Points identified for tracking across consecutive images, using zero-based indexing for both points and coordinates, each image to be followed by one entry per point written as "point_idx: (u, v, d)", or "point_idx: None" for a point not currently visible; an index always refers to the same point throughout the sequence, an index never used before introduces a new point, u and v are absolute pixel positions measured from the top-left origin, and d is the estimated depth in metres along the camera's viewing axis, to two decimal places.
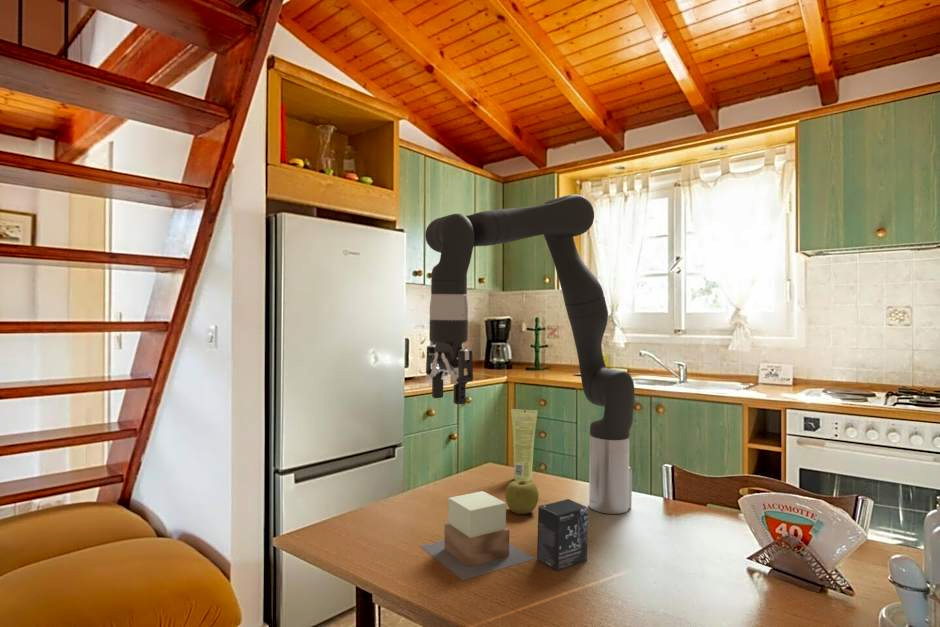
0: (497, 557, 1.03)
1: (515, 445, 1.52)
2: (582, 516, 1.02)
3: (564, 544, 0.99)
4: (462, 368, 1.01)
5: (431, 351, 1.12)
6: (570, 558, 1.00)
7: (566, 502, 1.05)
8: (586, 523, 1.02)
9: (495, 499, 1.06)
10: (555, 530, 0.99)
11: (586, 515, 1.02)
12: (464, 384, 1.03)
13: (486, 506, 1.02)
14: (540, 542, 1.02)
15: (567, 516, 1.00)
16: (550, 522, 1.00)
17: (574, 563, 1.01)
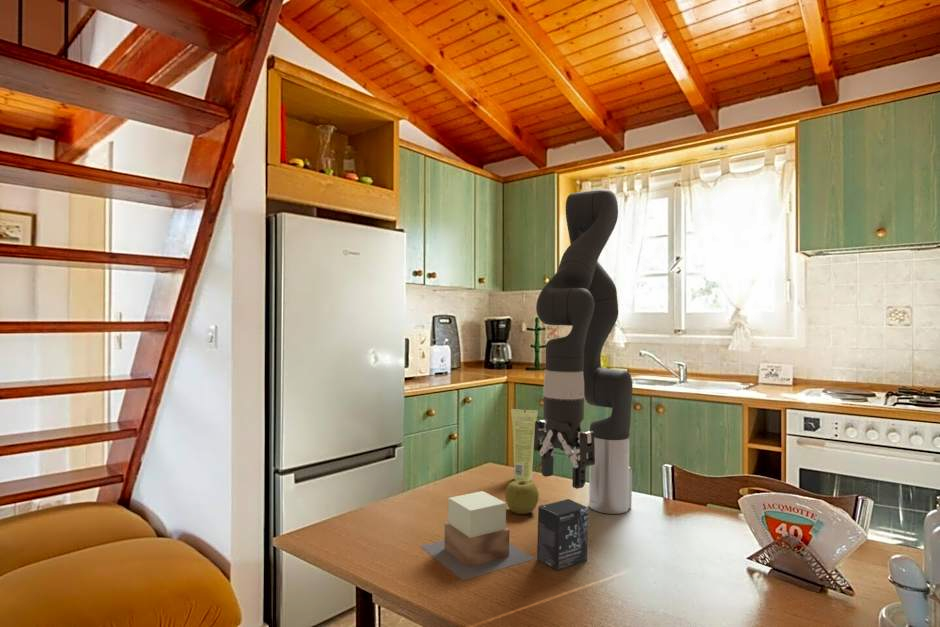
0: (497, 557, 1.03)
1: (515, 445, 1.52)
2: (582, 517, 1.02)
3: (564, 544, 0.99)
4: (585, 452, 0.96)
5: (540, 426, 1.07)
6: (570, 558, 1.00)
7: (566, 502, 1.05)
8: (586, 523, 1.02)
9: (495, 499, 1.06)
10: (555, 530, 0.99)
11: (586, 515, 1.02)
12: (584, 467, 0.98)
13: (486, 506, 1.02)
14: (540, 542, 1.02)
15: (567, 516, 1.00)
16: (550, 522, 1.00)
17: (574, 563, 1.01)
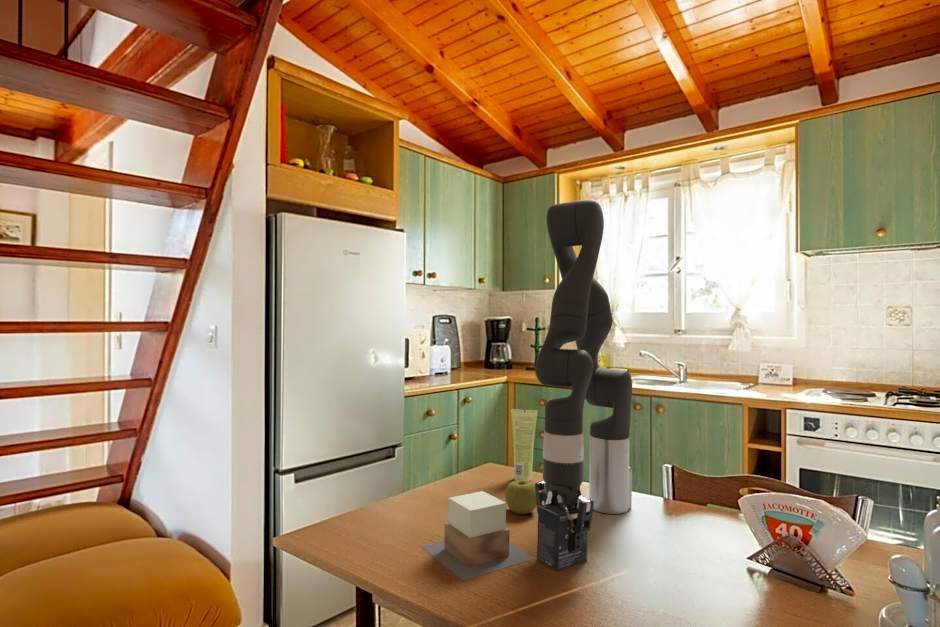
0: (497, 557, 1.03)
1: (515, 445, 1.52)
2: None
3: (564, 544, 0.99)
4: (582, 521, 0.97)
5: (540, 488, 1.07)
6: (570, 558, 1.00)
7: None
8: None
9: (495, 499, 1.06)
10: (555, 530, 0.99)
11: None
12: (580, 533, 0.99)
13: (486, 506, 1.02)
14: (540, 542, 1.02)
15: None
16: (549, 521, 1.00)
17: (574, 563, 1.01)
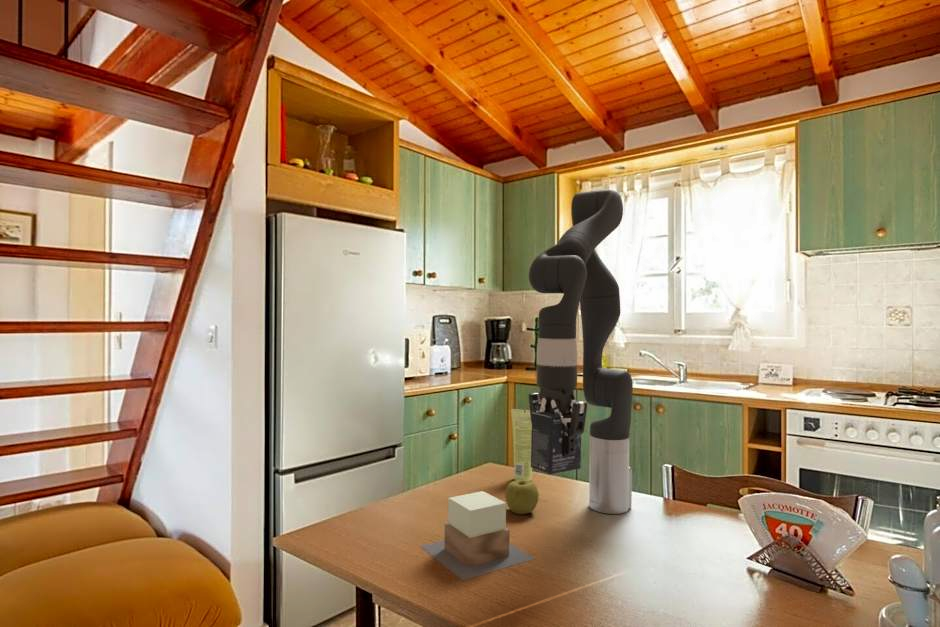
0: (497, 557, 1.03)
1: (515, 445, 1.52)
2: None
3: (558, 448, 0.99)
4: (575, 422, 0.97)
5: (534, 398, 1.07)
6: (564, 462, 1.00)
7: None
8: None
9: (495, 499, 1.06)
10: (549, 433, 0.99)
11: None
12: (573, 436, 0.99)
13: (486, 506, 1.02)
14: (534, 448, 1.02)
15: None
16: (543, 426, 1.00)
17: (568, 468, 1.01)
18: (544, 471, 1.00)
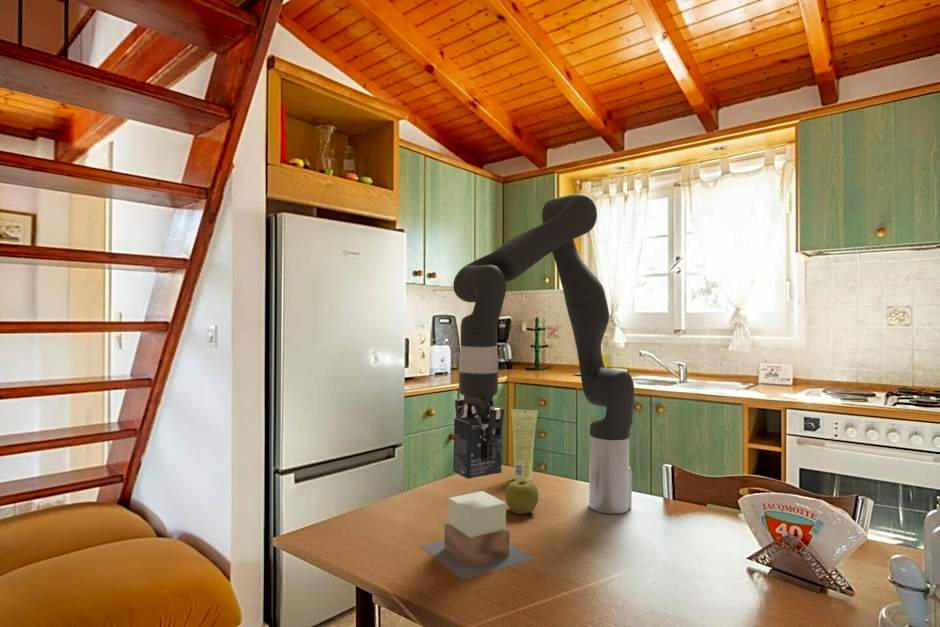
0: (497, 557, 1.03)
1: (515, 445, 1.52)
2: None
3: (476, 452, 1.02)
4: (492, 428, 1.00)
5: (460, 404, 1.10)
6: (483, 467, 1.03)
7: None
8: None
9: (495, 499, 1.06)
10: (467, 438, 1.01)
11: None
12: (492, 441, 1.02)
13: (486, 506, 1.02)
14: (455, 453, 1.05)
15: None
16: (463, 431, 1.03)
17: (487, 472, 1.04)
18: (463, 475, 1.02)
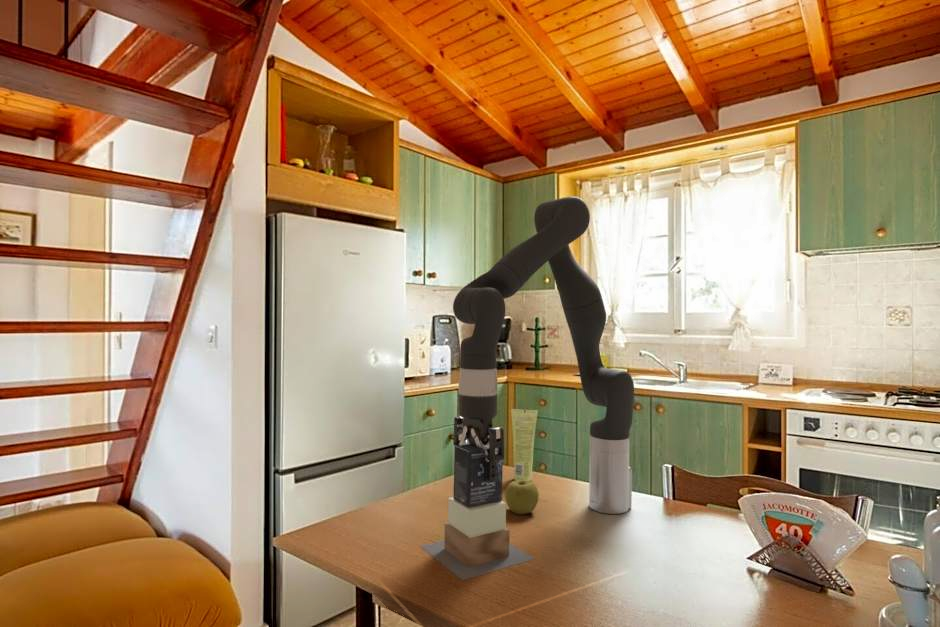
0: (497, 557, 1.03)
1: (515, 445, 1.52)
2: None
3: (476, 481, 1.02)
4: (493, 447, 0.99)
5: (459, 422, 1.10)
6: (484, 495, 1.03)
7: None
8: (501, 462, 1.05)
9: None
10: (467, 467, 1.01)
11: None
12: (495, 462, 1.01)
13: (486, 506, 1.02)
14: (456, 480, 1.05)
15: (480, 454, 1.02)
16: (463, 459, 1.03)
17: (487, 500, 1.03)
18: (463, 504, 1.02)
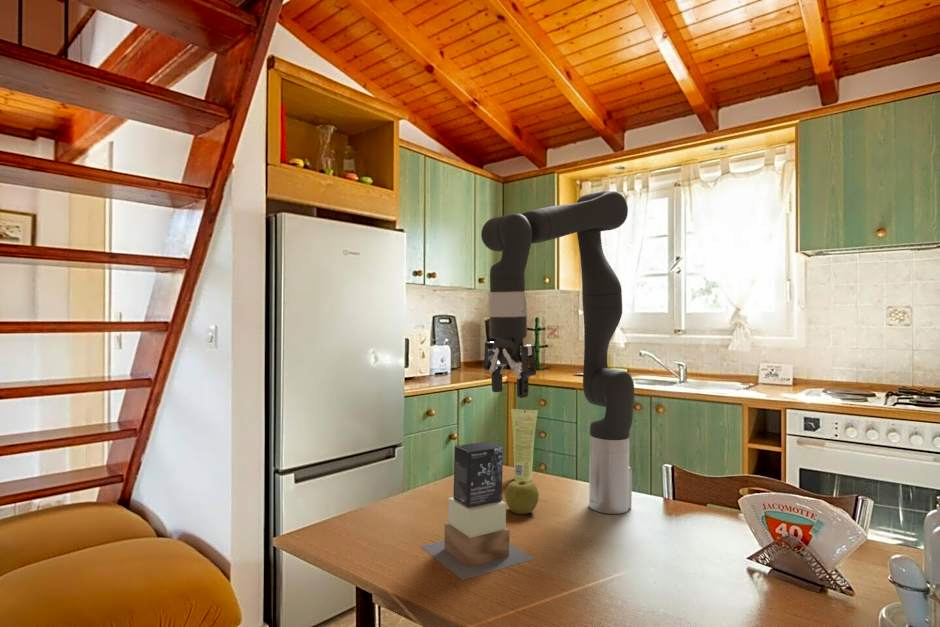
0: (497, 557, 1.03)
1: (515, 445, 1.52)
2: (496, 455, 1.04)
3: (476, 481, 1.02)
4: (526, 363, 1.05)
5: (489, 347, 1.16)
6: (484, 495, 1.03)
7: (483, 443, 1.07)
8: (501, 462, 1.05)
9: None
10: (467, 467, 1.01)
11: (501, 454, 1.05)
12: (527, 378, 1.07)
13: (486, 506, 1.02)
14: (456, 480, 1.05)
15: (480, 454, 1.02)
16: (463, 459, 1.03)
17: (487, 500, 1.03)
18: (463, 504, 1.02)
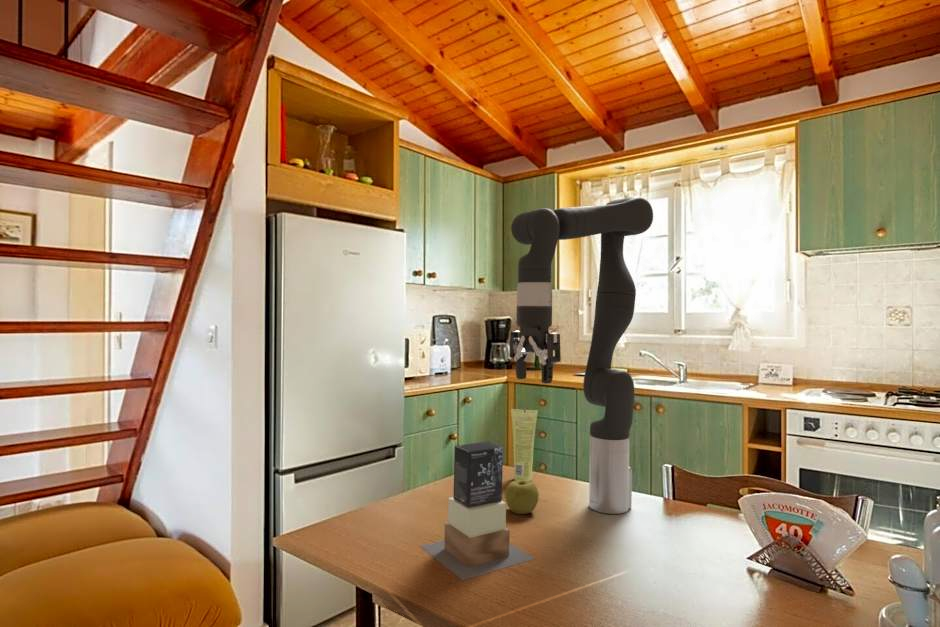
0: (497, 557, 1.03)
1: (515, 445, 1.52)
2: (496, 455, 1.04)
3: (476, 481, 1.02)
4: (551, 350, 1.10)
5: (515, 336, 1.21)
6: (484, 495, 1.03)
7: (483, 443, 1.07)
8: (501, 462, 1.05)
9: None
10: (467, 467, 1.01)
11: (501, 454, 1.05)
12: (552, 365, 1.12)
13: (486, 506, 1.02)
14: (456, 480, 1.05)
15: (480, 454, 1.02)
16: (463, 459, 1.03)
17: (487, 500, 1.03)
18: (463, 504, 1.02)
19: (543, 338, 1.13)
